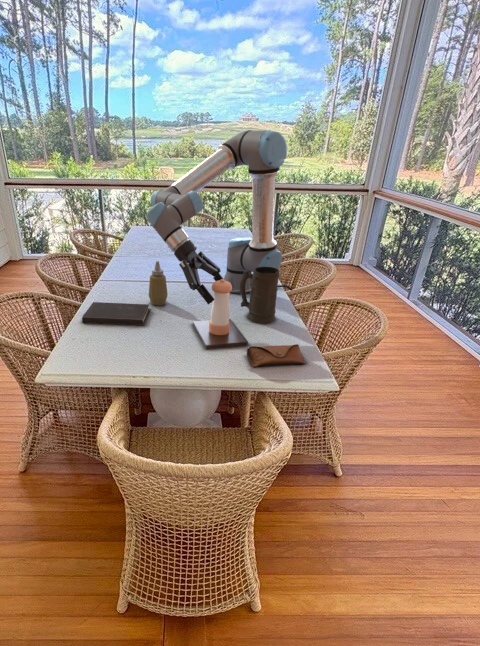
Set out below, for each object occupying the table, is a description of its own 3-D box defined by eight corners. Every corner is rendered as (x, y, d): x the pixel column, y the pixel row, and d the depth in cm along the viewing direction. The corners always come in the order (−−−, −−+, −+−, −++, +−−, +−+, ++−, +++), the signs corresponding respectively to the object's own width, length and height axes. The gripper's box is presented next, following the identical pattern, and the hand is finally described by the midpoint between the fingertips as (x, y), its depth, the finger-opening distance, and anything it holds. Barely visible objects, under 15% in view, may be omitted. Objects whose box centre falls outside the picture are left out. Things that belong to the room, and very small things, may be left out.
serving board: (230, 322, 153) (230, 318, 152) (247, 345, 136) (248, 341, 136) (192, 324, 150) (192, 321, 149) (205, 349, 133) (206, 345, 132)
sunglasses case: (254, 367, 123) (252, 345, 123) (247, 367, 130) (246, 347, 130) (308, 363, 126) (306, 342, 126) (298, 363, 132) (297, 344, 132)
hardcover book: (93, 307, 162) (93, 301, 161) (149, 309, 162) (149, 304, 160) (82, 323, 149) (81, 317, 147) (143, 325, 148) (142, 320, 147)
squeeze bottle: (164, 307, 164) (164, 264, 155) (146, 305, 165) (144, 263, 156) (169, 300, 171) (169, 259, 162) (151, 299, 172) (150, 257, 163)
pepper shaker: (229, 327, 145) (233, 276, 135) (228, 336, 139) (233, 283, 129) (209, 326, 146) (212, 275, 136) (208, 334, 139) (211, 282, 130)
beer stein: (278, 315, 160) (282, 266, 150) (274, 325, 151) (277, 274, 141) (241, 312, 165) (242, 264, 155) (235, 321, 156) (236, 271, 146)
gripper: (191, 245, 146) (225, 291, 148) (156, 261, 127) (196, 313, 129) (204, 232, 141) (240, 279, 143) (170, 246, 122) (212, 301, 124)
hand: (219, 296), depth 136 cm, fingers open, 13 cm apart
